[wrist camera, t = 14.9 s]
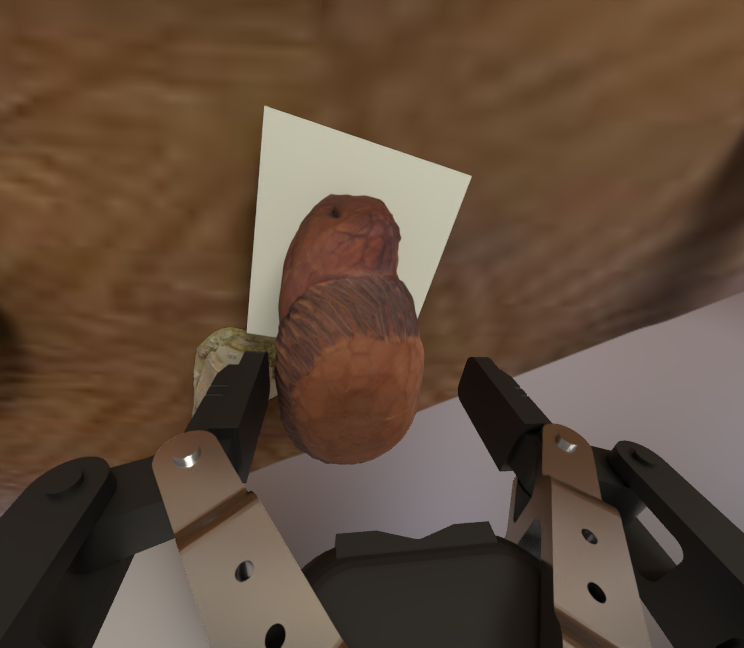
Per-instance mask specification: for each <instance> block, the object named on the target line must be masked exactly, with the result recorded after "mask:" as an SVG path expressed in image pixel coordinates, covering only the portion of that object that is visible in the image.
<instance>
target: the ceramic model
mask: <svg viewBox="0 0 744 648" xmlns="http://www.w3.org/2000/svg"><path fill="white" fill-rule="evenodd" d="M275 340H276V337H270V336H264V335H257V334H250V333H247V330H243V329H238V328H231V327H228V328H222V329H220V330H218V331H216V332H214V333H213V334H211V335H210V336H209V337H208V338H207V339H206V340H204V342H203V343H201V344H200V345H199V347H198V348H197V353H196V359H195V368H194V376H193V377H194V384H193V385H194V387H195V388H194V391H195V392H194V407H193V411H192V417H193V415H194V414H195V412H196V410H197V408H198V407H199V405H200V403H201V401H202V399H203V398H204V396H206V392H207V390H208V389H209V387H210V386H211V383H212V382H213V380H214V378H215V376H216V374H217V373H218V372H219V371H221V370H222V369H223V368H224V367H226V366H227V365H228V364H239V362H240V360H241V358H242V356H243V354H244V352H245V351H267V352H268V359H269V374H270V395H269V399H271V398H273V397H275V396H277V395H278V393H277V389H276V382H275V377H274V368H275V359H276V349H275ZM268 401H269V400H268Z"/></svg>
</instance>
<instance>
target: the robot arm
mask: <svg viewBox="0 0 744 648" xmlns="http://www.w3.org/2000/svg"><path fill="white" fill-rule="evenodd" d="M269 395H270V374H269V359H268V352H267V351H245V352H244V354H243V356H242V358H241V360H240V362H239V364H228V365H227V366H226V367H224V368H223V369H222V370H221V371H219V372H218V373H217V374H216V376H215V378H214V380H213V382H212V383H211V386H210V387H209V389H208V390H207V392H206V396H204V398H203V399H202V401H201V403H200V405H199V407H198V408H197V410H196V412H195V414H194V415H193V417H192V419H191V421H190V423H189V424H188V426H187V428H186V430H185V432H184V433H183V434H180V435H178V436H176V437H174V438H172V439H171V440H169V441H168V442H166V443H165V444H164V445H163V446H162V447H161V448H160V449H159V450H158V451H157V453H156V455H154V456H151V457H148V458H145V459H142V460H138V461H134V462H131V463H127V464H123V465H120V466H116V467H112V468H110V467H109V465H108V463H107V462H106V461H105V460H104V459H102V458H99V457H82V458H78V459H74V460H71V461H68V462H65V463H63V464H60V465H58V466H56V467H54V468H52V469H51V470H49V471H47V472H46V473H44V474H43V475H41V476H40V477H39V478H37V479H36V480H35V481H34V482H32V483H31V484H30V485H29V486H28V487H27V488H26V489H25V490H24V492H23V493H22V494H21V495H20V496H19V497H18V498H17V499H16V501H15V502H14V503H13V504H12V505H11V506H10V507H9V508H8V510H7V511H6V512H5V513H4V514H3V515H2V516H1V517H0V648H92V647H93V644H94V642H95V640H96V638H97V636H98V634H99V631H100V629H101V627H102V625H103V623H104V620H105V618H106V616H107V614H108V612H109V609H110V607H111V605H112V603H113V600H114V598H115V596H116V594H117V592H118V590H119V587H120V585H121V583H122V581H123V579H124V577H125V574H126V572H127V570H128V568H129V565H130V563H131V561H132V559H133V557H134V555H135V554H136V553H138V552H141V551H143V550H146V549H148V548H151V547H154V546H156V545H158V544H161V543H164V542H166V541H169V540H171V539H174V538H176V544H177V547H178V550H179V554H180V557H181V560H182V563H183V566H184V569H185V571H186V575H187V578H188V581H189V584H190V587H191V590H192V593H193V596H194V599H195V602H196V605H197V608H198V611H199V614H200V618H201V620H202V624H203V627H204V630H205V633H206V636H207V639H208V642H209V645H210V648H651V644H650V640H649V635H648V631H647V627H646V623H645V618H644V614H643V610H642V606H641V601H640V598H641V600H642V602H643V603H644V604H645V606H646V607H647V609H648V610H649V612H650V613H651V615H652V616H653V618H654V619H655V621H656V622H657V624H658V625H659V626H660V628H661V629H662V631H663V632H664V634H665V635H666V637H667V638H668V640H669V641H670V643H671V644H672V646H673V647H674V648H744V533H743V532H742V531H741V530H740V529H739V528H737V527H736V526H735V525H734V524H733V523H732V522H731V521H730V520H729V519H728V518H727V517H725V516H724V515H723V514H722V513H721V512H720V511H719V510H718V509H717V508H716V507H714V506H713V505H712V504H711V503H710V502H709V501H708V500H707V499H706V498H705V497H704V496H703V495H701V494H700V493H699V492H698V491H697V490H696V489H695V488H694V487H693V486H692V485H691V484H689V483H688V482H687V481H686V480H685V479H684V478H683V477H682V476H681V475H680V474H678V473H677V472H676V471H675V470H674V469H673V468H672V467H671V466H670V465H669V464H668V463H666V462H665V461H664V460H663V459H662V458H661V457H659V456H658V455H657V454H655V453H654V452H653V451H651V450H649V449H648V448H646V447H644V446H642V445H639V444H637V443H634V442H630V441H619V442H618V443H617V444H616V445H615V447H614V448H613V449H612V450H611V451H610V450H605V449H602V448H597V447H594V446H590V445H589V443H587V441H586V440H585V439H584V438H583V437H582V436H581V435H579V434H578V433H576V432H575V431H573V430H571V429H570V428H568V427H565V426H563V425H559V424H552V423H551V421H550V420H549V419H548V418H547V417H546V416H545V415H544V414H543V412H542V411H541V410H540V409H539V408H538V407H537V405H536V404H535V403H534V402H533V401H532V400H531V399H530V398H529V397H528V396H527V394H526V393H525V392H524V391H523V390H522V389H520V386H519V385H518V384H517V383H516V382H515V380H514V379H513V378H512V377H511V376H509V375H508V374H506V373H505V372H503V371H502V370H500V369H499V368H498V367H497V366H496V365H495V364H494V362H493V361H492V360H491V359H490V358H488V357H470V358H468V360H467V362H466V365H465V368H464V371H463V374H462V377H461V380H460V382H459V386H458V396H459V400H460V402H461V403H462V405H463V407H464V409H465V410H466V412H467V414H468V416H469V418H470V419H471V421H472V423H473V425H474V427H475V428H476V430H477V432H478V434H479V436H480V437H481V439H482V441H483V442H484V444H485V446H486V448H487V449H488V451H489V453H490V455H491V457H492V459H493V460H494V462H495V464H496V466H497V467H498V469H499V471H514V473H515V474H516V477H515V478H514V480H513V485H512V494H511V502H510V511H509V519H508V528H507V532H506V536H505V538H502V537H499V536H495V534H494V532H493V530H492V528H491V525H490V523H489V521H487V522H475V523H464V524H453V525H451V526H449V527H447V528H444V529H442V530H440V531H438V532H436V533H433V534H431V535H429V536H426V537H424V538H422V539H413V538H408V537H403V536H399V535H394V534H389V533H385V532H380V531H367V532H354V533H342V534H336V539H335V547H334V548H332V549H330V550H328V551H326V552H324V553H322V554H321V555H319V556H317V557H316V558H314V559H313V560H312V561H311V562H309V563H308V564H307V565H305V566H304V567H303V568H302V569H300V568H299V566H298V565H297V563H296V561H295V559H294V557H293V556H292V554H291V552H290V551H289V549H288V547H287V546H286V544H285V542H284V541H283V539H282V537H281V536H280V534H279V532H278V530H277V529H276V527H275V525H274V524H273V522H272V520H271V519H270V517H269V515H268V514H267V512H266V510H265V509H264V507H263V505H262V503H261V502H260V500H259V499H258V497H257V496H256V494H255V493H254V492H252V491H250V492H248V491H247V490H246V488H245V487H244V485H243V483H246V482H247V478H248V475H249V471H250V467H251V463H252V460H253V456H254V452H255V449H256V445H257V441H258V438H259V434H260V430H261V426H262V423H263V419H264V415H265V412H266V408H267V404H268V400H269ZM645 507H648V508H649V509H650V510H651V511H652V512H653V514H654V515H655V516H656V517H657V518H658V519H659V520H660V522H661V523H662V524H663V525H664V526H665V527H666V528H667V529H668V530H669V532H670V533H671V534H672V535H673V536H674V537H675V538H676V540H677V541H678V542H679V544H680V546H681V548H682V550H683V556H684V557H683V560H682V562H681V563H680V564H678V565H676V564H675V563H674V562H673V561H672V559H671V558H670V557H669V556H668V555H667V553H666V552H665V551H664V550H663V548H662V547H661V546H660V545H659V544H658V542H657V541H656V540H655V539H654V538H653V536H652V535H651V534H650V533H649V532H648V530H647V529H646V528H645V527H644V526H643V525H642V523H641V522H640V521H639V520H638V519H637V517H636V516H637V515H638V514H639V513H641V511H643V510H644V508H645Z"/></svg>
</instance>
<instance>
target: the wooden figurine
mask: <svg viewBox="0 0 744 648" xmlns="http://www.w3.org/2000/svg"><path fill="white" fill-rule="evenodd" d="M400 241H401V235H400V228H399V226H398V225H397V223H396V222H395V220H394V218H393V214H391V213H390V211H389V210H388V208H387V206H386V205H385V203H384V202H383V201H382V200H380V199H377V198H374V197H370V196H366V195H362V196H352V195H348V194H345V195H336V194H330V195H329V196H327V197H325V198H324V199H322V200H321V201H320V202H319V203H318V204H316V205H315V206H314V207H313V209H312V210H311V211H310V213H309V214H308V215H307V216H306V217H305V218H304V220H303V221H302V222H301V224H300V226H299V229H298V231H297V232H296V234H295V236H294V238H293V240H292V241H291V243H290V246H289V249H288V251H287V254H286V257H285V260H284V264H283V272H282V280H281V289H280V295H279V304H278V311H279V326H278V334H277V337H276V340H275V349H276V359H275V368H274V377H275V382H276V389H277V393H278V397H279V403H278V407H279V409H280V419H281V421H282V422H283V426H284V428H285V429H286V431H287V432H288V433H289V437H290V439H291V440H292V441H293V442H294V444H295V446H296V447H297V448H299V450H301V451H303V452H305V453H307V454H308V455H310V456H311V457H312V458H314V459H318V460H320V461H322V462H324V463H326V464H329V463H332V464H357V463H363V462H366V461H370V460H373V459H375V458H377V457H379V456H380V455H382V454H384V453H386V452H387V451H389V450H390V449H392V448H393V447H394V446H395V445H396V444H397V443H398V442H399V441H400V440H401V439H402V438H403V437H404V435H405V434H406V432H407V430H408V429H409V427H410V425H411V424H412V422H413V419H414V416H415V414H416V412H417V406H418V402H419V397H420V393H421V388H422V378H423V369H424V350H423V345H422V342H421V340H420V335H419V325H418V320H417V315H416V311H415V305H414V300H413V297H412V295H411V293H410V292H409V290H408V288H407V287H406V285H405V284H404V282H403V281H401V280H399V277H398V275H397V267H398V261H399V257H398V249H399V242H400Z"/></svg>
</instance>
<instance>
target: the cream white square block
mask: <svg viewBox="0 0 744 648" xmlns="http://www.w3.org/2000/svg"><path fill="white" fill-rule="evenodd" d="M471 177H472V176H470V175H467V174H464V173H461V172H458V171H455V170H452V169H449V168H446V167H443V166H440V165H437V164H434V163H431V162H428V161H425V160H423V159H420V158H417V157H414V156H411V155H408V154H405V153H402V152H399V151H396V150H393V149H390V148H387V147H384V146H381V145H378V144H375V143H373V142H370V141H367V140H364V139H361V138H358V137H355V136H352V135H349V134H346V133H343V132H340V131H337V130H334V129H331V128H328V127H325V126H323V125H320V124H317V123H314V122H311V121H308V120H305V119H302V118H299V117H296V116H293V115H290V114H287V113H284V112H281V111H278V110H275V109H272V108H270V107H267V106H264V119H263V132H262V144H261V157H260V170H259V182H258V195H257V208H256V221H255V233H254V246H253V259H252V271H251V284H250V297H249V309H248V322H247V333H250V334H257V335H264V336H270V337H277V334H278V326H279V311H278V304H279V295H280V289H281V280H282V272H283V264H284V260H285V257H286V254H287V251H288V249H289V246H290V243H291V241H292V240H293V238H294V236H295V234H296V232H297V231H298V229H299V226H300V224H301V222H302V221H303V220H304V218H305V217H306V216H307V215H308V214H309V213H310V211H311V210H312V209H313V207H314V206H315V205H316V204H318V203H319V202H320V201H321V200H322V199H324V198H325V197H327V196H329V195H330V194H336V195H345V194H348V195H352V196H362V195H366V196H370V197H374V198H377V199H380V200H382V201H383V202H384V203H385V205H386V206H387V208H388V210H389V211H390V213H391V214H393V218H394V220H395V222H396V223H397V225H398V226H399V228H400V235H401V241H400V242H399V249H398V257H399V261H398V267H397V275H398V277H399V280H401V281H403V282H404V284H405V285H406V287H407V288H408V290H409V292H410V293H411V295H412V297H413V300H414V305H415V311H416V315H417V318H418V316H419V313H420V311H421V308H422V305H423V303H424V300H425V297H426V295H427V292H428V290H429V287H430V284H431V282H432V279H433V276H434V274H435V271H436V269H437V266H438V263H439V261H440V258H441V255H442V253H443V250H444V248H445V245H446V242H447V240H448V237H449V234H450V232H451V229H452V227H453V224H454V221H455V219H456V216H457V213H458V211H459V208H460V206H461V203H462V200H463V198H464V195H465V192H466V190H467V187H468V185H469V182H470V179H471Z"/></svg>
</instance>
